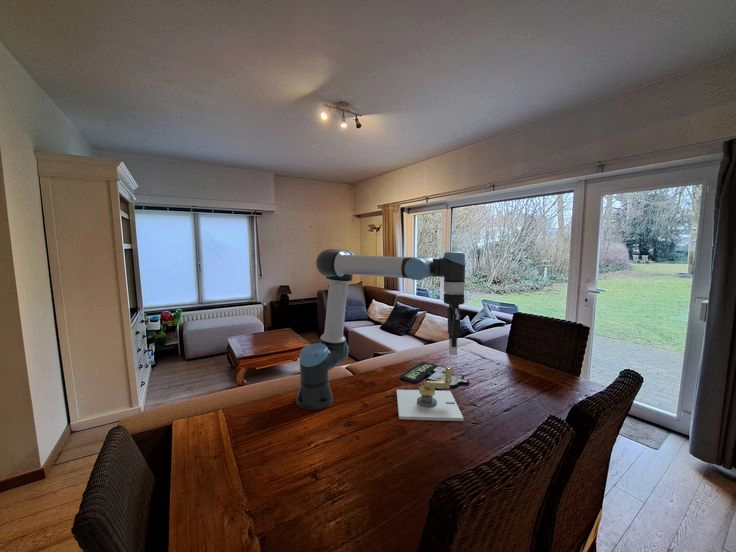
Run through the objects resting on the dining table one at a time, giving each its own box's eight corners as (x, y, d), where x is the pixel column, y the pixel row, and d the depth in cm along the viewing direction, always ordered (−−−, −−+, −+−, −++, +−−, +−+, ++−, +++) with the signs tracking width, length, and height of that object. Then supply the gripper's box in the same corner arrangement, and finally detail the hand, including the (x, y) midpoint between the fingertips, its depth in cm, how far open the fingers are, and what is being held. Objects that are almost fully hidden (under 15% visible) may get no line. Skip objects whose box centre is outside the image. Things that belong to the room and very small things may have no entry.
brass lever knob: (420, 396, 119) (420, 370, 118) (418, 389, 125) (418, 364, 124) (452, 397, 118) (453, 371, 117) (449, 389, 124) (449, 365, 124)
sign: (422, 361, 168) (476, 374, 150) (422, 364, 168) (475, 377, 150) (397, 377, 147) (456, 394, 129) (397, 380, 147) (456, 398, 129)
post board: (399, 419, 112) (399, 406, 112) (396, 392, 134) (396, 381, 133) (463, 421, 111) (463, 408, 110) (450, 393, 133) (450, 382, 132)
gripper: (469, 295, 104) (467, 360, 106) (459, 290, 117) (458, 349, 119) (447, 295, 105) (446, 360, 107) (440, 290, 118) (439, 348, 120)
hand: (453, 354), depth 113 cm, fingers closed
